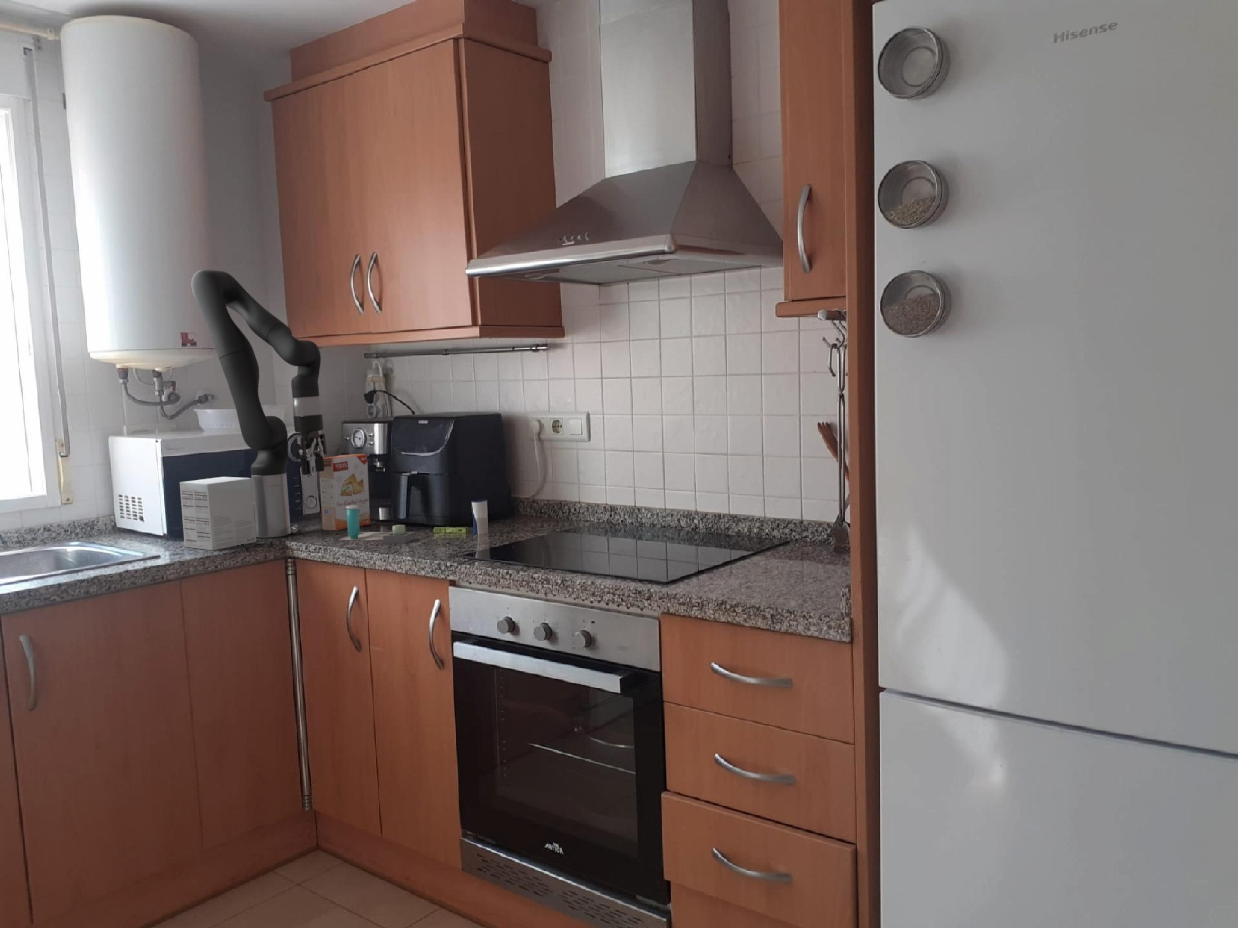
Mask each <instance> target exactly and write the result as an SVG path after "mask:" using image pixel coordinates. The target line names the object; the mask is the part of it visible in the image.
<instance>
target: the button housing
mask: <svg viewBox="0 0 1238 928" xmlns="http://www.w3.org/2000/svg"><path fill="white" fill-rule="evenodd" d="M391 532H392V531H391ZM415 533H416V532H415V531H405V535H393V532H392V533H389V534H387V535H384V536H383V540H382V543H383V544H408V543H410V542H411V541H413V540H416V534H415Z"/></svg>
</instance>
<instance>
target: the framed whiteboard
mask: <svg viewBox="0 0 1238 928" xmlns="http://www.w3.org/2000/svg"><path fill="white" fill-rule="evenodd" d="M389 533H392V531H376V532H375V531H360V535H358V539H350V536H349V535H345V536H344V537H342V538H339V539H337V540H338V541H383V536H384V535H387V534H389Z"/></svg>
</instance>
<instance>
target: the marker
mask: <svg viewBox="0 0 1238 928" xmlns="http://www.w3.org/2000/svg"><path fill="white" fill-rule="evenodd" d="M346 511H347V527H348V528H347V536H350V539H358V535H360V532H361V531H360V526H359V514H358V506H357V505H352V506H346Z"/></svg>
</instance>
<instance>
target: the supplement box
mask: <svg viewBox="0 0 1238 928" xmlns="http://www.w3.org/2000/svg"><path fill="white" fill-rule="evenodd" d="M179 491H180V492H179V493H180V505H181V515H182V518H181V519H182V528H183V530H182V531H183V540H184V541H183V543H184V547H185V548H193V549H197V550H199V549H200V550H206V551H217V550H223V549H226V548H232V547H233V548H234V547H238V546H237V545H239V546H242V545H241V544H244V545H248V544H254V543H256V542H257V537H256V531H255V518H254V506H253V491H252V479H251V477H232V476H219V477H212V478H204V479H197V480H187V481H179Z"/></svg>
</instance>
